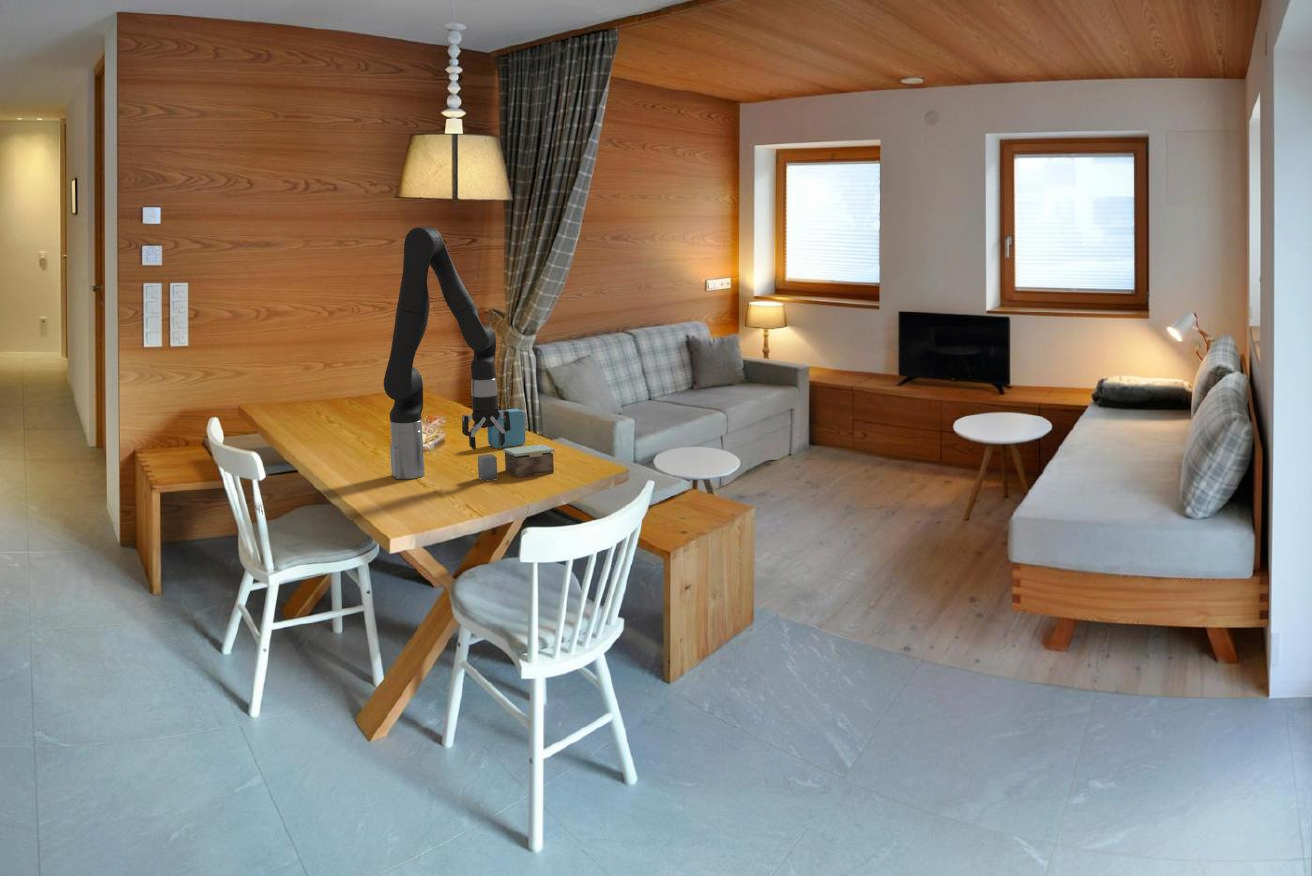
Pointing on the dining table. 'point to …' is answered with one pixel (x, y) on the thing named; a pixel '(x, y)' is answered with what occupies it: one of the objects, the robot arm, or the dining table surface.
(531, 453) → the box lid
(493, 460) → the block
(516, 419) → the data package
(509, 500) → the dining table surface
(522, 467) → the walnut box
